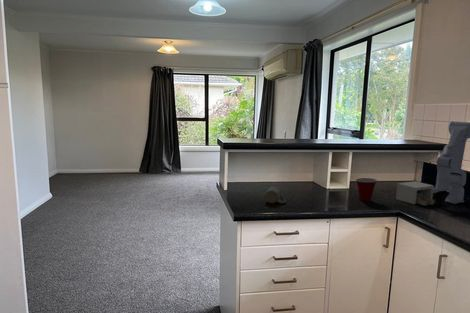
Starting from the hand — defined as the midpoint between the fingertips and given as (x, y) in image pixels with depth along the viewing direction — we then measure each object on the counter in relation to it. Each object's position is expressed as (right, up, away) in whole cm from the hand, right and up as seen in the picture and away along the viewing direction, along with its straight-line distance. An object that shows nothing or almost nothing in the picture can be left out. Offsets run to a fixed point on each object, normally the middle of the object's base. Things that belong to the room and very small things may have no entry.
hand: (440, 205), depth 166 cm
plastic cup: (-35, +1, +11) cm, 37 cm away
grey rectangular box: (-6, +1, +13) cm, 15 cm away
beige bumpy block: (-4, 0, +10) cm, 11 cm away
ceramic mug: (-85, +1, +4) cm, 85 cm away
